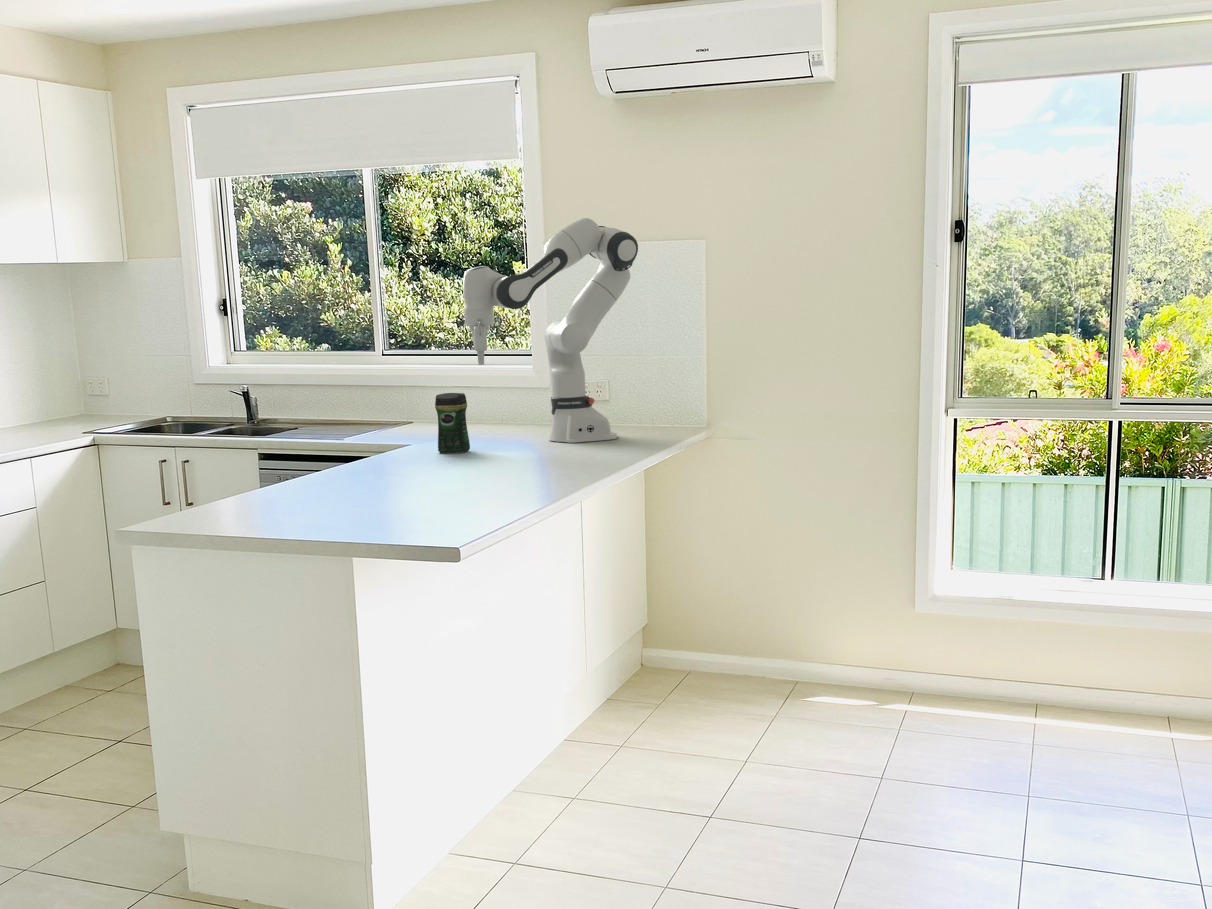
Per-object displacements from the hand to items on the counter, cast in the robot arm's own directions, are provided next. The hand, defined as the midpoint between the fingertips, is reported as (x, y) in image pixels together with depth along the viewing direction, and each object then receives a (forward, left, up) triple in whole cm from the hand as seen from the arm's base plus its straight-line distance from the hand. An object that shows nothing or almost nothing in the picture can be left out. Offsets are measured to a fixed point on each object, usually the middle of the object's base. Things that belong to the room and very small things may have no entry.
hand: (481, 364), depth 339 cm
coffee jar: (+10, 0, -27) cm, 29 cm away
